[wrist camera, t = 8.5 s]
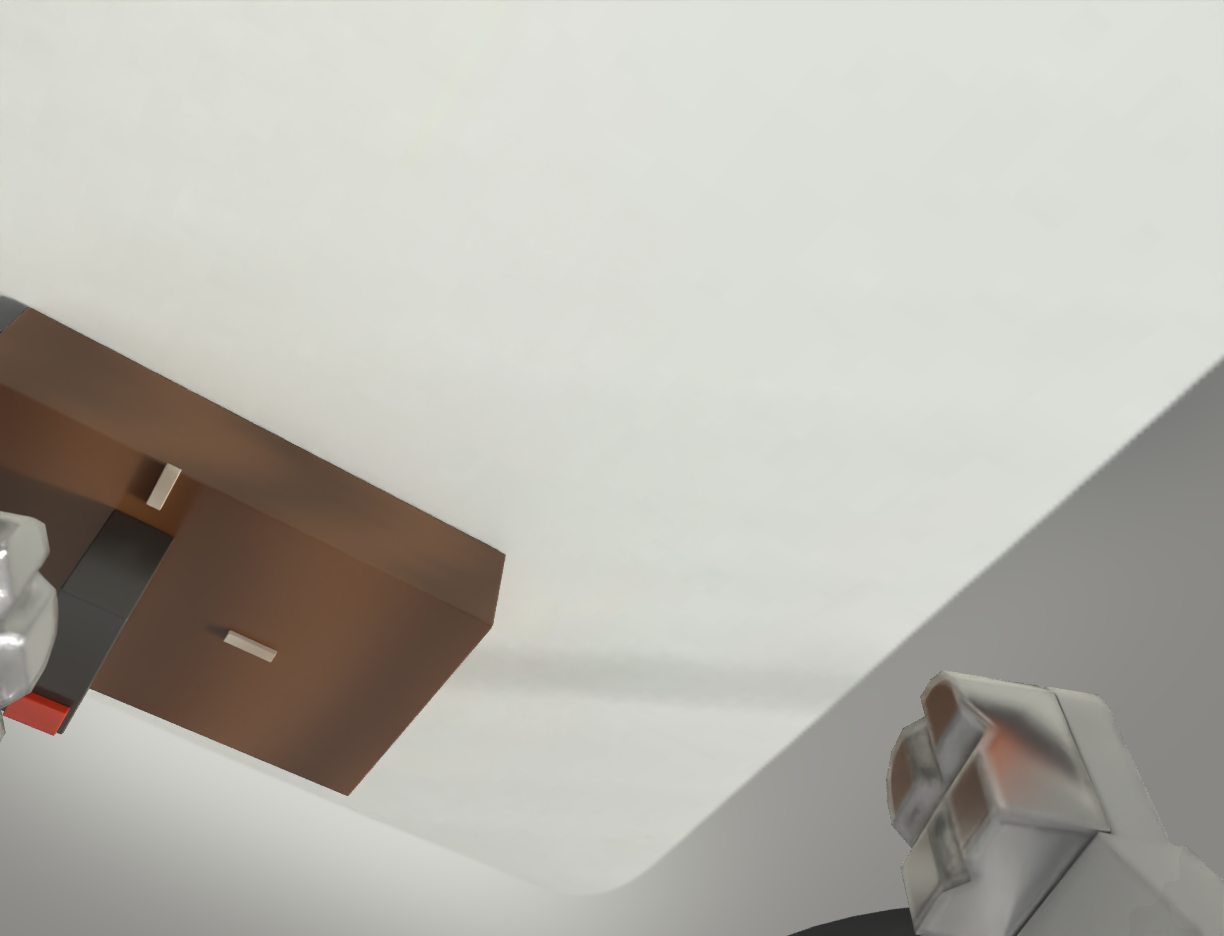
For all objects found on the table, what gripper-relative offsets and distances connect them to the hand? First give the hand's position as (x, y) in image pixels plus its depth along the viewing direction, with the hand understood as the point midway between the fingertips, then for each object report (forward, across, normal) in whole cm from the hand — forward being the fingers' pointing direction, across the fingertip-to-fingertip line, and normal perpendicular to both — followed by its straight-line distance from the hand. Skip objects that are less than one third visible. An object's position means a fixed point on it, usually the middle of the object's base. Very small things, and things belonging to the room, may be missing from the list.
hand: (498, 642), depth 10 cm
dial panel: (+16, +8, +15) cm, 24 cm away
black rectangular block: (+13, +10, +14) cm, 22 cm away
